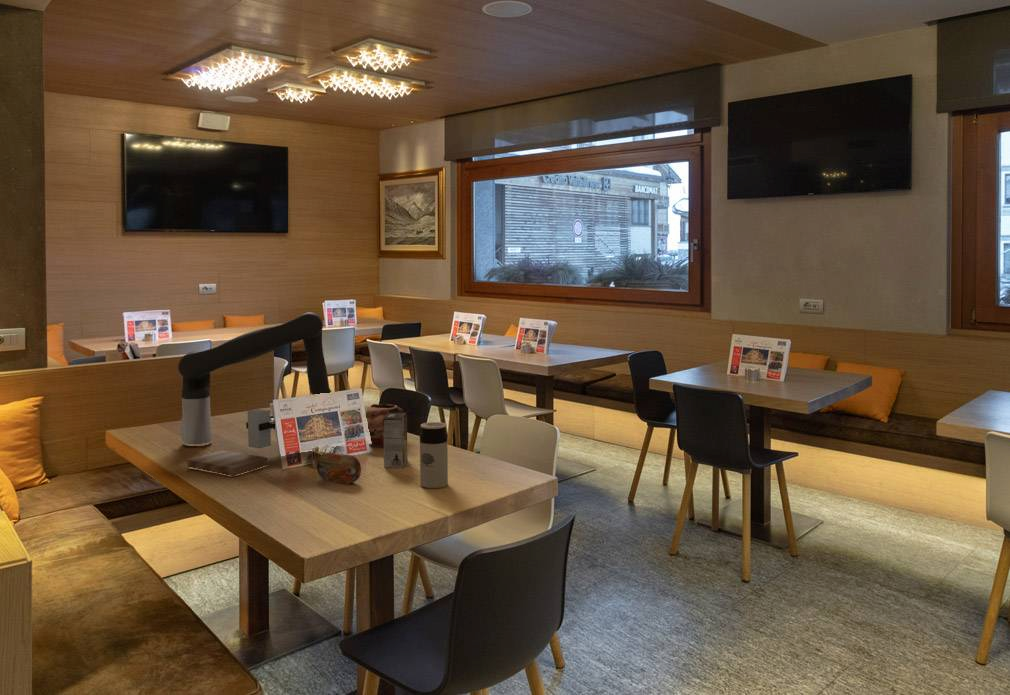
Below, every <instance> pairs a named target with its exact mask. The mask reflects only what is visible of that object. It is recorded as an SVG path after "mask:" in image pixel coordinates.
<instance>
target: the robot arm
mask: <svg viewBox="0 0 1010 695" xmlns="http://www.w3.org/2000/svg"><path fill="white" fill-rule="evenodd" d="M323 328H324V322H323V319H322V317H321V316H320V315H319V314H318V313H316V312H312V311H307V312H304V313H302V314H301V315H299V316H298V317H296V318H292V320H289V321H286V322H285V323H282V324H279V325H274V326H267V327H264V328H259V329H255V330H253V331H249V332H247V333H244V334H240V335H239V336H236V337H234V338H232V339H230V340H227V341H225V342H224V343H221V344H220V345H218V346H215V347H212V348H208V349H205V350H201V351H197V350H195V351H190V352H188V353H186V354H184V355H183V356H182V357H181V358H180V360H179V362H178V365H177V368H178V372H179V374H180V375H181V376H182V387H181V388H182V389H181V409H182V411H181V412H182V418H181V419H180V426H181V430H180V431H181V442H182V441H184V443H187V444H202V443H207V442H210V441H211V440H213V439H212V417H211V398H210V397H211V395H210V394H211V393H210V392H211V390H210V389H211V372H214V371H216V370H218V369H220V368H224V367H228V366H231V365H235V364H240V363H243V362H246V361H250V360H252V359H256V358H259V357H261V356H265V355H267V354H269V353H271V352H274V351H276V350H278V349H280V348H282V347H284V346H287V345H289V344H292V343H295V342H296V343H297V342H300V341H302V342H303V346H304V349H305V350H304V351H305V358H306V361H305V362H306V374H307V381H308V386H309V387H308V388H309V392H310V394H311V395H313V396H315V395H314V394H320V393H330V392H332V391H331V389H330V388H331V387H330V384H329V378H328V377H329V376H328V372H327V367H326V366H327V365H326V361H325V355H324V348H323V347H324V346H323ZM273 415H274V414H270V421H269V422H266V423H262V424H259V425H258V428H259V431H263V430H267V429H270V430H271V431H272V430H275V422H274V417H273ZM245 424H246V425H245V426H246V427H245V428H246V429H247V430H248V421H247V422H246V423H245ZM275 431H276V430H275Z"/></svg>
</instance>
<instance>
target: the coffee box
mask: <svg viewBox="0 0 1010 695" xmlns="http://www.w3.org/2000/svg"><path fill="white" fill-rule="evenodd" d="M407 414H408V412H404V413H388V414H387V415H386V416H385V417H384V418H383V436H384V447H383V468H385V467H386V468H385V469H387V468H388V467H397V469H398V468H400V469H403V468H404V467H405V465H406V464H407V463H408V419H407V418H408V415H407ZM388 469H389V468H388Z"/></svg>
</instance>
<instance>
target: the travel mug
mask: <svg viewBox="0 0 1010 695" xmlns="http://www.w3.org/2000/svg"><path fill="white" fill-rule="evenodd" d="M446 427H447V424H446V423H444V422H440V421H439V422H438V421H431V422H430V421H429V422H423V423H421V424H420V428H421V433H420V435H419V471H420V472H419V474H420V475H419V477H420V478H419V481H420V482H419V483H420V485H419V486H421V487H423V488H425V489H433V490H434V489H441V488H444V487H447V485H448V483H449V481H448V480H449V474H448V472H449V469H448V467H449V466H448V463H449V462H448V460H449V459H448V455H449V454H448V434H447V432H446Z"/></svg>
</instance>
